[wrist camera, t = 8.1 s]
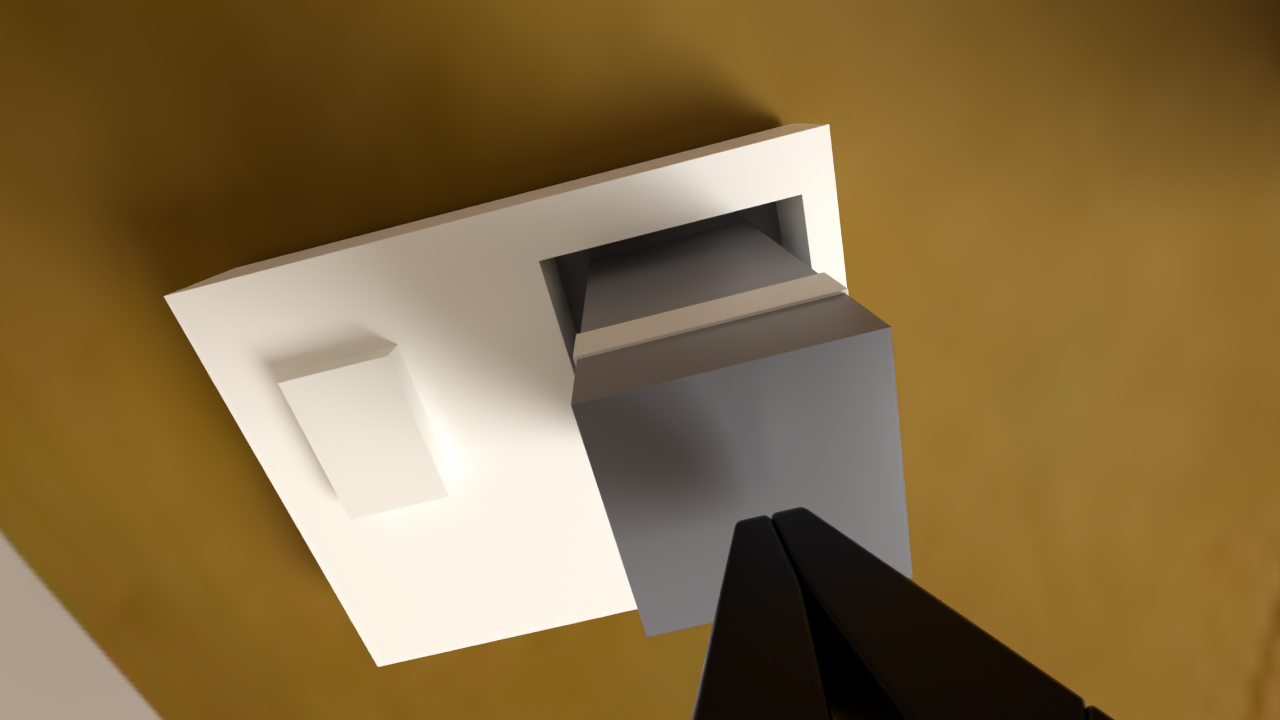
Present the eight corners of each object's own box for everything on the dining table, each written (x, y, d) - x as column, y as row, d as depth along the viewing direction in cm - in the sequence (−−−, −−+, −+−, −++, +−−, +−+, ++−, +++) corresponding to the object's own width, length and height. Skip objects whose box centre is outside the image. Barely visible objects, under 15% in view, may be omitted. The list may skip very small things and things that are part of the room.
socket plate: (792, 123, 14) (842, 124, 11) (841, 499, 18) (887, 574, 15) (234, 268, 15) (138, 305, 12) (406, 598, 19) (368, 689, 16)
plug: (748, 218, 14) (895, 322, 7) (774, 366, 16) (915, 579, 9) (587, 259, 15) (565, 402, 7) (628, 402, 16) (644, 640, 9)
